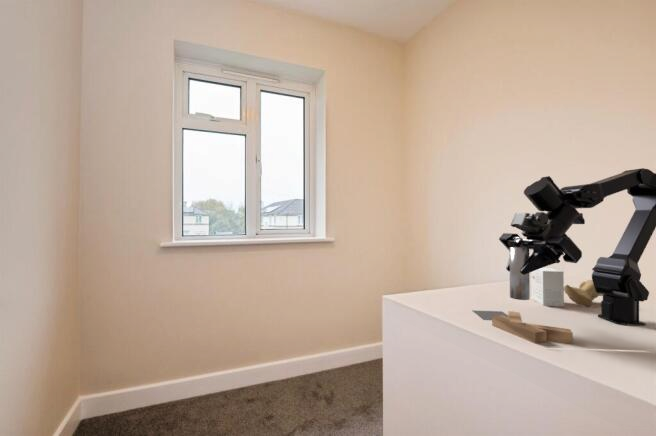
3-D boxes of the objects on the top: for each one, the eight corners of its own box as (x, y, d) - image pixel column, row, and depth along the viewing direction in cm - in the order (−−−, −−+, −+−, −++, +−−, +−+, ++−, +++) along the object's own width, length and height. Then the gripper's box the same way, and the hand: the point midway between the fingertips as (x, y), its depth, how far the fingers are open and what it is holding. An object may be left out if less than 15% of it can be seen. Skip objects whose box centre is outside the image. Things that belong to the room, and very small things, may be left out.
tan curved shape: (561, 283, 96) (586, 270, 99) (558, 302, 98) (583, 289, 102) (591, 296, 88) (617, 282, 92) (587, 316, 91) (613, 302, 94)
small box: (564, 307, 90) (564, 271, 90) (542, 306, 91) (543, 270, 91) (550, 300, 98) (550, 267, 98) (530, 299, 99) (530, 266, 99)
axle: (519, 295, 76) (519, 246, 76) (533, 299, 72) (533, 248, 72) (505, 296, 75) (505, 246, 75) (519, 300, 71) (518, 248, 71)
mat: (501, 312, 85) (501, 311, 85) (517, 322, 77) (517, 320, 77) (471, 311, 85) (471, 310, 85) (483, 320, 77) (483, 319, 77)
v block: (513, 320, 78) (513, 310, 78) (578, 344, 63) (578, 332, 63) (484, 323, 75) (484, 313, 75) (545, 349, 60) (545, 336, 60)
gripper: (505, 203, 83) (468, 245, 81) (570, 198, 65) (524, 252, 63) (530, 232, 84) (495, 273, 82) (601, 235, 66) (558, 289, 64)
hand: (514, 271), depth 73 cm, fingers closed on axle, 4 cm apart
